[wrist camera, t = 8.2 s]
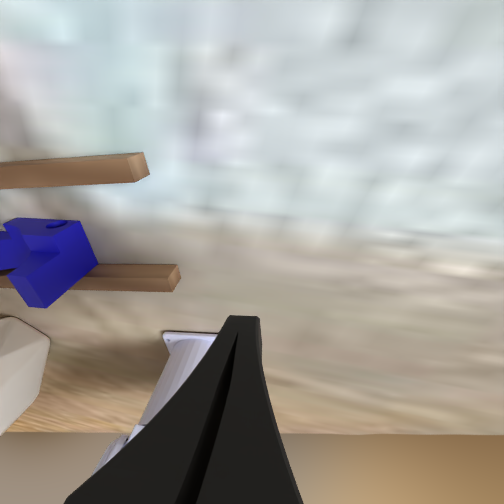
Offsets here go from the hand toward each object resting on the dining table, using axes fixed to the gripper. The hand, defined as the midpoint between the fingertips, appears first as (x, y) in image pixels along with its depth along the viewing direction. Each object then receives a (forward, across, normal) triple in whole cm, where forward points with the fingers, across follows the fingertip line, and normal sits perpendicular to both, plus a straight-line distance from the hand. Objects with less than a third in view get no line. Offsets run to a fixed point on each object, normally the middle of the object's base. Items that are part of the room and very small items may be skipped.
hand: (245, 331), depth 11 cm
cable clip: (+10, +22, 0) cm, 24 cm away
